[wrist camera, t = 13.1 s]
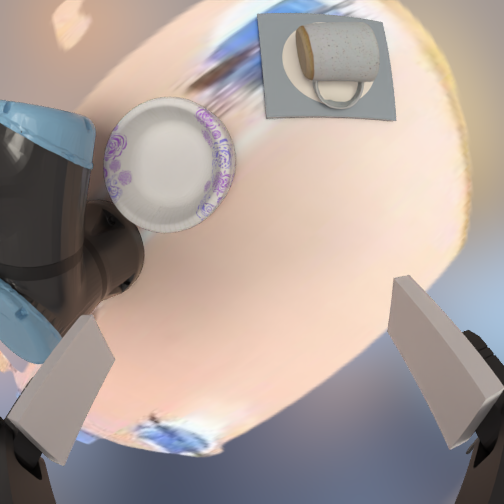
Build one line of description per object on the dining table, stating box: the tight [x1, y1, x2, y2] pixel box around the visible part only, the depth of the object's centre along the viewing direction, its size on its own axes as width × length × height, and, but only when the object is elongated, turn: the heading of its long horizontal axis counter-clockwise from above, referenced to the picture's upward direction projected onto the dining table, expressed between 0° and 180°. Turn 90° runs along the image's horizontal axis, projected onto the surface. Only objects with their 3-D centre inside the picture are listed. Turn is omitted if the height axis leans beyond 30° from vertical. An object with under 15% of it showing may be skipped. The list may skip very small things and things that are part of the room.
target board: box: [257, 13, 396, 121], centre depth 28 cm, size 17×15×2 cm
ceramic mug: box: [295, 22, 380, 109], centre depth 24 cm, size 11×8×8 cm
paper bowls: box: [103, 97, 236, 233], centre depth 31 cm, size 15×15×8 cm
